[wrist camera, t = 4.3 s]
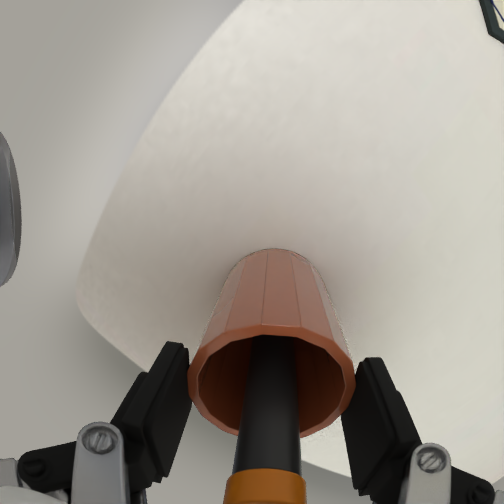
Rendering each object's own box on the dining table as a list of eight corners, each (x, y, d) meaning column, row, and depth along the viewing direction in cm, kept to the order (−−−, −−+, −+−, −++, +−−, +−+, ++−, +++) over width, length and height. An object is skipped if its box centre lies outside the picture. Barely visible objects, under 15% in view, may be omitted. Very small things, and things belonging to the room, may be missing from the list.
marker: (254, 315, 16) (222, 521, 5) (257, 283, 16) (221, 497, 4) (289, 318, 16) (298, 525, 5) (293, 286, 16) (315, 501, 4)
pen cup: (222, 333, 18) (192, 432, 10) (226, 243, 16) (182, 314, 8) (315, 341, 17) (332, 442, 10) (331, 253, 16) (375, 329, 8)
